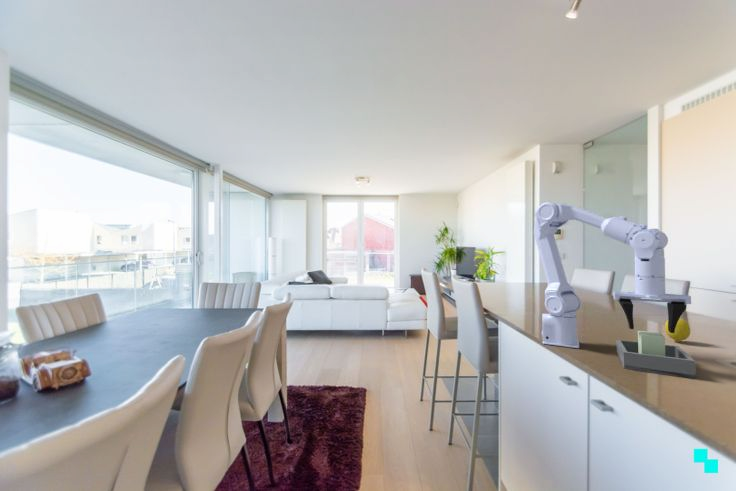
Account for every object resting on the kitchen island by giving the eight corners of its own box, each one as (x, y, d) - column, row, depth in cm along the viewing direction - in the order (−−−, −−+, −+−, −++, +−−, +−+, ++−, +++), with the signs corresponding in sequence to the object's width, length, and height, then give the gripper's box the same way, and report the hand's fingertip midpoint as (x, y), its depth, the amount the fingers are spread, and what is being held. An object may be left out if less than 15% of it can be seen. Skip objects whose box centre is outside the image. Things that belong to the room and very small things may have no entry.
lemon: (695, 345, 94) (694, 318, 94) (673, 344, 95) (673, 318, 95) (681, 340, 100) (680, 314, 100) (660, 339, 101) (660, 314, 101)
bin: (624, 368, 78) (623, 352, 78) (616, 353, 88) (616, 339, 88) (695, 378, 71) (695, 361, 71) (678, 361, 82) (678, 345, 82)
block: (642, 362, 79) (641, 334, 79) (638, 357, 83) (637, 330, 83) (665, 365, 77) (664, 337, 77) (660, 360, 80) (660, 332, 80)
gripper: (615, 276, 80) (616, 330, 80) (695, 279, 73) (696, 338, 72) (612, 274, 86) (613, 324, 86) (685, 276, 79) (686, 330, 78)
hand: (650, 330), depth 80 cm, fingers open, 7 cm apart
